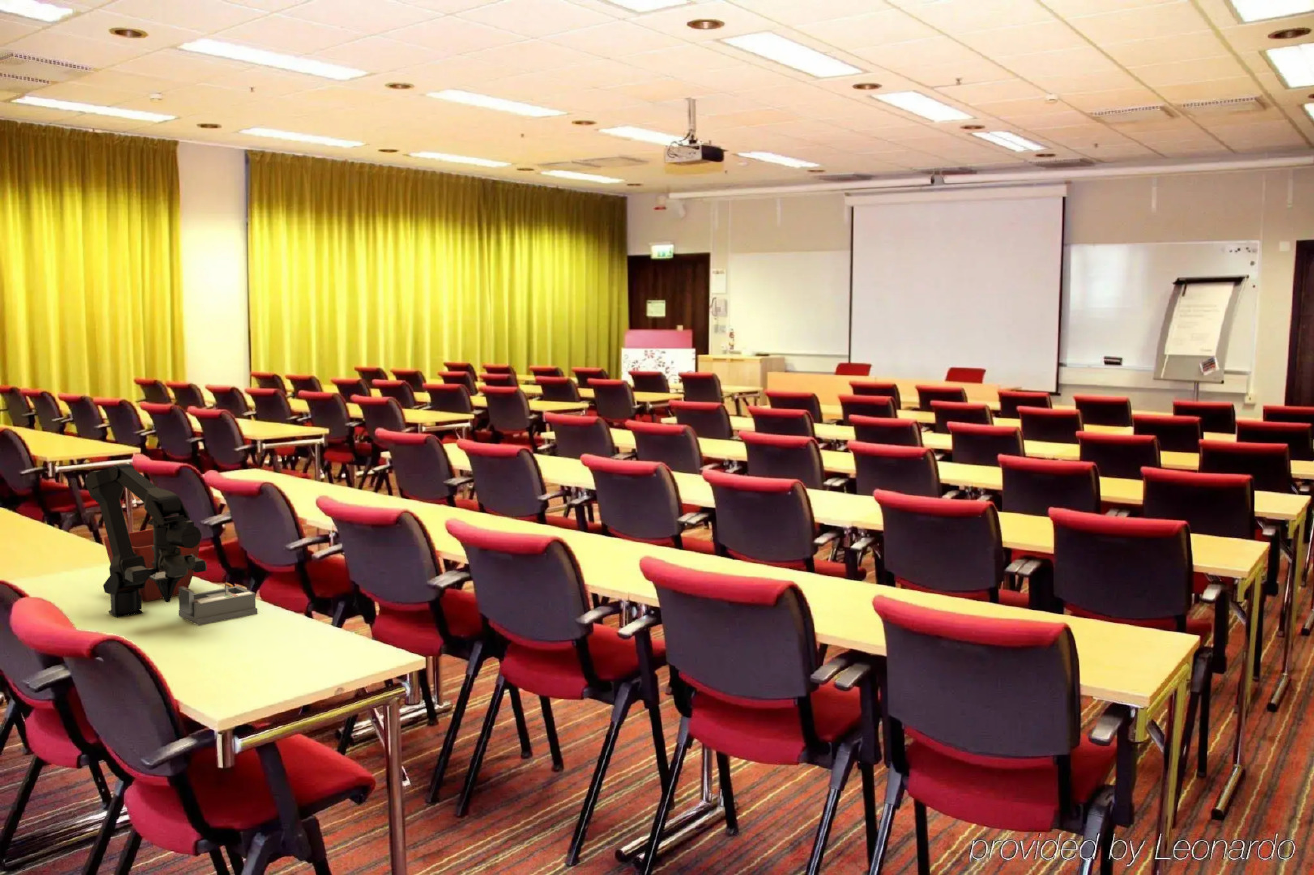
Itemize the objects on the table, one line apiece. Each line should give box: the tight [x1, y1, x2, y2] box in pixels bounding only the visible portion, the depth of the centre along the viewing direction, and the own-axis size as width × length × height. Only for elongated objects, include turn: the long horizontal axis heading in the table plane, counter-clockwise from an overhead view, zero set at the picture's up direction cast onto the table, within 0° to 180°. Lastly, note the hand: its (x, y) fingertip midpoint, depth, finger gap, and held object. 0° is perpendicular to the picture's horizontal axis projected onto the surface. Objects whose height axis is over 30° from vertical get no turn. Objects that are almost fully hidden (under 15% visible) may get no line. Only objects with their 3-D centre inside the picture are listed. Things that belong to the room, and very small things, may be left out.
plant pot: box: [103, 528, 202, 602], centre depth 297 cm, size 19×19×17 cm
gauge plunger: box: [178, 582, 234, 615], centre depth 277 cm, size 13×9×7 cm
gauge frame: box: [178, 585, 258, 626], centre depth 280 cm, size 16×12×6 cm
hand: (167, 602), depth 270 cm, fingers closed
